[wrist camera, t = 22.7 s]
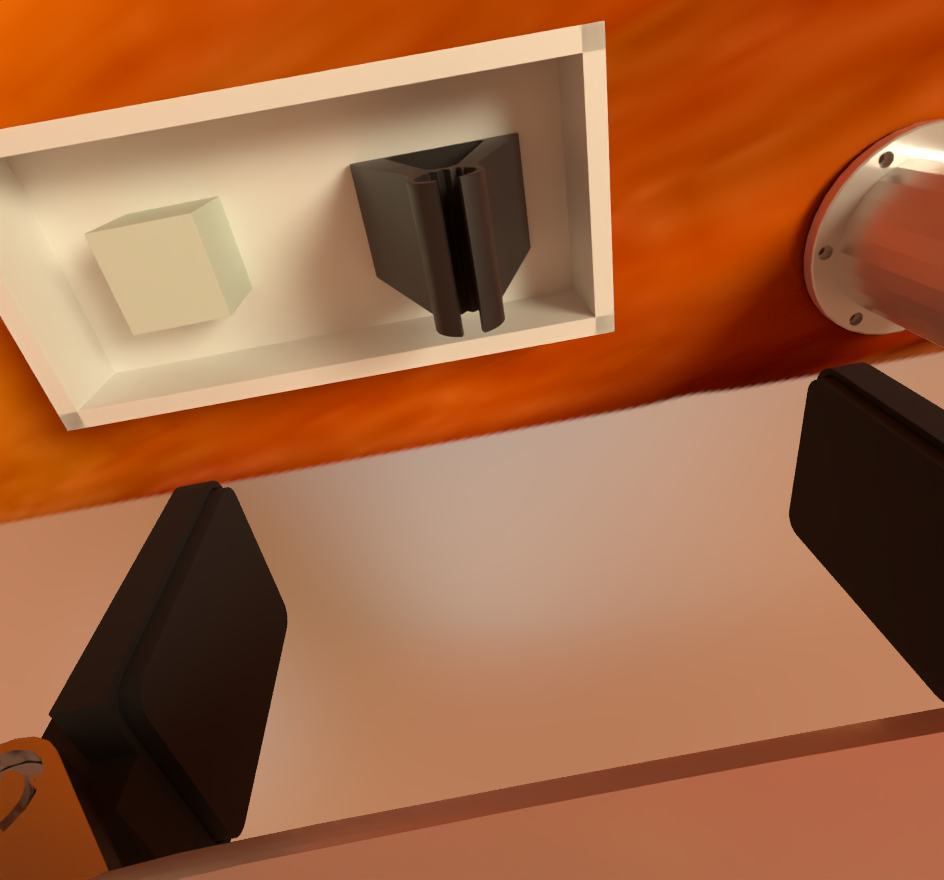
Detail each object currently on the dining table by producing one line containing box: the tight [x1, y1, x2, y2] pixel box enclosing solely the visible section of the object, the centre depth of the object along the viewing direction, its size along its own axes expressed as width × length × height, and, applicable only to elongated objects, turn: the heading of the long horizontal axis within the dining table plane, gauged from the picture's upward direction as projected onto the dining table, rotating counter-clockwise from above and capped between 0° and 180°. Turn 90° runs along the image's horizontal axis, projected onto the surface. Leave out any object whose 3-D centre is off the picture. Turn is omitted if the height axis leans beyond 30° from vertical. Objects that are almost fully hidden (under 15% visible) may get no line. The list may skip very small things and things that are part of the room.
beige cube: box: [84, 196, 253, 335], centre depth 31 cm, size 5×5×5 cm
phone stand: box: [350, 133, 531, 337], centre depth 28 cm, size 9×6×12 cm, turn 99°
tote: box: [0, 21, 614, 431], centre depth 32 cm, size 30×14×6 cm, turn 99°
